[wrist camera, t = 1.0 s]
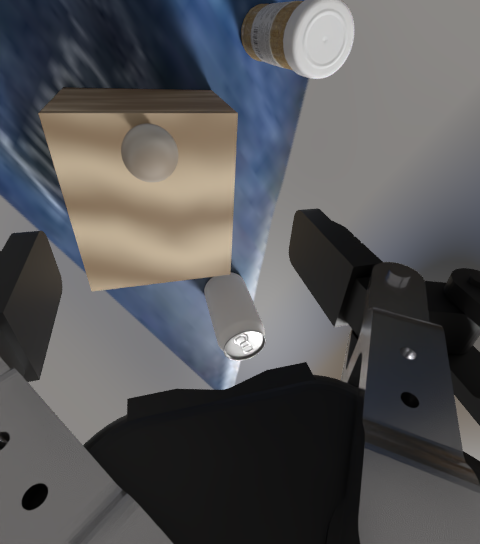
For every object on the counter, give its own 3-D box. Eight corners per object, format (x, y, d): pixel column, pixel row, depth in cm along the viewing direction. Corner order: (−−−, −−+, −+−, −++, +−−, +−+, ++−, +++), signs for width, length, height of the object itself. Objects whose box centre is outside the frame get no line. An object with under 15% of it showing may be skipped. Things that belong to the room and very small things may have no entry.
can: (234, 263, 48) (259, 321, 39) (249, 290, 52) (275, 348, 43) (196, 282, 48) (211, 344, 39) (214, 308, 52) (232, 369, 43)
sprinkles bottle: (281, 60, 33) (348, 79, 23) (239, 61, 32) (289, 81, 22) (285, 2, 30) (364, -5, 20) (239, 1, 29) (297, -7, 19)
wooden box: (63, 87, 30) (40, 110, 22) (211, 90, 33) (235, 111, 26) (99, 235, 40) (92, 286, 32) (211, 226, 43) (228, 270, 35)
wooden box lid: (38, 106, 22) (10, 133, 17) (235, 107, 25) (263, 130, 20) (92, 287, 32) (84, 340, 27) (229, 271, 35) (246, 315, 30)
